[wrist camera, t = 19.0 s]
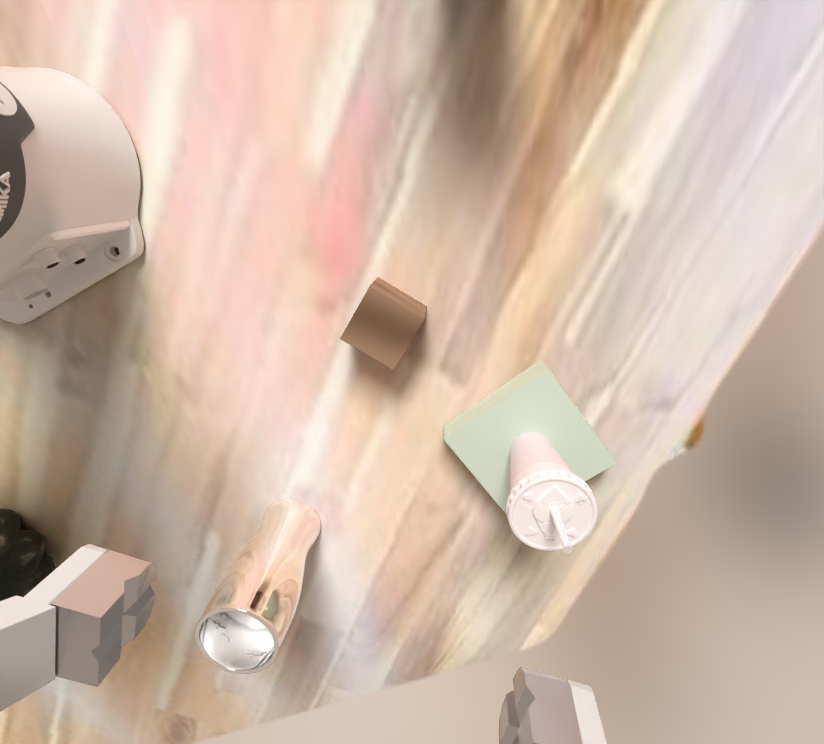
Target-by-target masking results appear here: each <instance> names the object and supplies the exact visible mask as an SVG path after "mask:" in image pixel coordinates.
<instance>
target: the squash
mask: <svg viewBox="0 0 824 744" xmlns="http://www.w3.org/2000/svg"><path fill="white" fill-rule="evenodd" d="M20 528H21V521H20V517H19V516H18V515H17V514H16V513H15V512H14V511H12V510H9V509H0V601H2V600H5V599H8V598H11V597H13V596H16V595H17V596H20V597H24V596H25V595H26V594H28V593H29V592H30V591H31V590H32V589H33V588H34V587H36V586H37V585H38V584H39V583H40V582H41V581H42V580H44V579H45V578H46V577H47V576H48V575H49V574H50V573H52V572H53V571H54V570H55V564H54V562H53V560H52V558H51V557H50V556H49V555H48V554H46V553H45V552H44V550H45V547H46V539H45V537H44V536H43V535H41V534H40V533H38V532H36V531H33V530H20Z"/></svg>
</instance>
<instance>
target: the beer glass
mask: <svg viewBox="0 0 824 744" xmlns="http://www.w3.org/2000/svg"><path fill="white" fill-rule="evenodd" d="M320 529H321V523H320V519H319V516H318V514H317V513H316V511H315V510H314V509H313V508H312V507H311V506H310V505H308V504H307V503H305V502H303V501H300V500H297V499H291V498H287V499H281V500H278V501H276V502H274V503H272V504H271V505H270V506H269V507H268V508H267V510H266V511H265V513H264V516H263V519H262V523H261V527H260V530H259V532H258V534H257V535H256V537H255V538H254V539H253V540H252V541H251V542H250V543H249V544H248V546H247V547H246V548H245V549H244V550H243V551H242V552H241V553H240V554H239V555H238V556H237V558H236V559H235V560H234V561H233V562H232V564H231V565H230V566H229V567H228V569H227V570H226V572H225V573H224V575H223V576H222V578H221V579H220V581H219V582H218V584H217V586H216V588H215V590H214V592H213V593H212V595H211V597H210V599H209V601H208V604H207V606H206V608H205V610H204V612H203V614H202V617H201V619H200V620H199V622H198V624H197V626H196V629H195V641H196V645H197V647H198V649H199V651H200V652H201V654H202V655H203V656H204V657H205V658H206V659H207V660H208V661H209V662H210V663H212V664H213V665H215V666H217V667H218V668H220V669H223V670H225V671H228V672H232V673H238V674H249V673H255V672H259V671H261V670H263V669H265V668H267V667H268V666H269V665H271V664H272V662H273V661H274V660H275V658H276V656H277V654H278V651H279V649H280V646H281V644H282V642H283V640H284V638H285V636H286V634H287V632H288V630H289V627H290V625H291V622H292V620H293V617H294V615H295V612H296V609H297V606H298V603H299V599H300V594H301V589H302V583H303V576H304V569H305V562H306V557H307V554H308V551H309V549H310V548H311V546H312V545H313V544H314V542H315V541H316V539H317V538H318V536H319V533H320Z"/></svg>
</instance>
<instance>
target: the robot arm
mask: <svg viewBox="0 0 824 744" xmlns="http://www.w3.org/2000/svg"><path fill="white" fill-rule="evenodd" d="M139 197H140V169H139V163H138V158H137V154H136V151H135V148H134V145H133V142H132V140H131V137H130V135H129V133H128V131H127V129H126V127H125V126H124V124H123V122H122V121H121V119H120V117H119V116H118V115H117V113H116V112H115V110H114V109H113V108H112V107H111V106H110V104H109V103H108V102H107V101H106V100H105V99H104V98H103V97H102V96H101V95H100V94H99V93H98V92H96V91H95V90H94V89H93V88H91V87H90V86H89V85H87V84H86V83H84V82H83V81H81V80H79V79H78V78H76V77H74V76H72V75H69V74H67V73H64V72H62V71H58V70H55V69H50V68H43V67H5V66H0V318H1V319H3V320H6V321H9V322H12V323H15V324H22V323H27V322H30V321H32V320H34V319H36V318H37V317H39V316H41V315H42V314H44V313H46V312H48V311H49V310H51V309H53V308H54V307H56V306H58V305H59V304H61V303H63V302H64V301H66V300H68V299H70V298H71V297H73V296H75V295H76V294H78V293H80V292H81V291H83V290H85V289H86V288H88V287H90V286H92V285H93V284H95V283H97V282H98V281H100V280H102V279H103V278H105V277H107V276H108V275H110V274H112V273H114V272H115V271H117V270H119V269H120V268H122V267H124V266H125V265H127V264H129V263H130V262H132V261H134V260H136V259H137V258H139V257H140V256H141V255H142V253H143V250H144V241H143V235H142V231H141V227H140V223H139V220H138V205H139ZM115 247H117V248H118V249H119V252H120V253H119V255H117V254H116V252H115ZM155 578H156V565H155V564H153V563H151V562H147V561H144V560H141V559H138V558H135V557H132V556H128V555H125V554H122V553H119V552H116V551H112V550H108V549H105V548H101V547H98V546H95V545H92V544H87V545H85V546H82V547H80V548H79V549H78V550H77V551H76V552H75V553H73V554H72V555H71V556H70V557H69V558H68V559H67V560H65V561H64V562H63V563H62V564H61V565H60V566H59V567H57V568H56V569H55V570H54V571H53V572H52V573H50V574H49V575H48V576H47V577H46V578H45V579H44V580H42V581H41V582H40V583H39V584H38V585H37V586H36V587H34V588H33V589H32V590H31V591H30V592H29V593H28V594H26V595H25V596H24V597H20V596H17V595H16V596H13V597H11V598H8V599H5V600H2V601H0V711H2V710H4V709H5V708H7V707H9V706H10V705H12V704H14V703H16V702H17V701H19V700H21V699H22V698H24V697H26V696H27V695H29V694H31V693H32V692H34V691H36V690H37V689H39V688H41V687H42V686H44V685H46V684H47V683H49V682H51V681H52V680H54V679H55V676H57V677H61V678H65V679H69V680H73V681H77V682H81V683H85V684H89V685H92V686H96V687H98V685H99V684H100V683H101V682H102V680H103V679H104V678H105V676H106V675H107V674H108V673H109V671H110V670H111V669H112V667H113V666H114V665H115V664H116V662H117V661H118V660H119V658H120V651H121V646H122V645H124V644H126V643H128V642H130V641H132V640H134V639H135V638H136V636H137V635H138V634H139V632H140V631H141V630H142V628H143V626H144V625H145V623H146V621H147V619H148V617H149V615H150V613H151V609H152V606H153V602H154V592H153V590H152V589H151V587H150V584H151V583H152V582H153V581H154V579H155ZM513 684H514V691H511V692H510V693H508V694H506V697H505V700H504V702H503V705H502V709H501V714H500V719H499V744H607V741H606V738H605V734H604V730H603V727H602V723H601V719H600V715H599V712H598V708H597V704H596V700H595V697H594V693H593V690H592V689H591V688H590V686H587V685H584V684H580V683H577V682H573V681H569V680H565V679H563V678H559V677H555V676H552V675H548V674H544V673H540V672H537V671H533V670H529V669H526V668H522V667H520V668H519V669H518V670H517V672H516V674H515V676H514V678H513Z"/></svg>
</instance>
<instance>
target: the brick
mask: <svg viewBox="0 0 824 744" xmlns="http://www.w3.org/2000/svg"><path fill="white" fill-rule="evenodd" d="M426 309H427V306H425V305H423V304H422V303H420V302H418V301H417V300H415V299H413V298H412V297H410V296H408V295H407V294H405V293H403V292H402V291H400V290H398V289H397V288H395V287H393V286H392V285H390V284H389V283H387V282H385V281H384V280H382V279H380V278H379V277H378V278H377V279H376V280H375V281H374V282H373V283H372V284H371V285H370V287H369V289H368V290H367V292H366V294H365V296H364V297H363V299H362V301H361V303H360V304H359V306H358V308H357V310H356V312H355V313H354V315H353V317H352V319H351V320H350V322H349V324H348V326H347V327H346V329H345V331H344V333H343V334H342V336H341V338H340V339H341V340H343V341H344V342H346V343H348V344H350V345H351V346H353V347H355V348H356V349H358V350H360V351H362V352H363V353H365V354H367V355H368V356H370V357H372V358H374V359H375V360H377V361H379V362H380V363H382V364H384V365H386V366H387V367H389V368H391V369H392V370H393V369H394V368H395V366H396V365H397V363H398V361H399V360H400V358H401V357H402V355H403V353H404V352H405V350H406V348H407V347H408V345H409V344H410V342H411V340H412V339H413V337H414V336H415V334H416V332H417V331H418V329H419V328H420V326H421V324H422V323H423V321H424V320H425V315H426Z"/></svg>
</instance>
